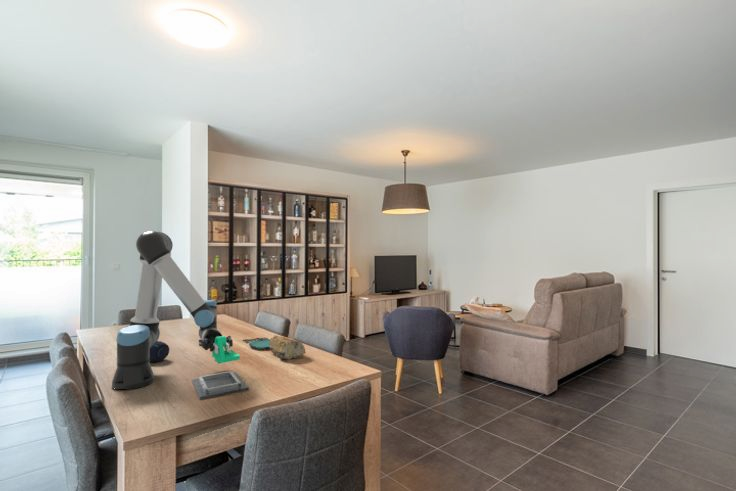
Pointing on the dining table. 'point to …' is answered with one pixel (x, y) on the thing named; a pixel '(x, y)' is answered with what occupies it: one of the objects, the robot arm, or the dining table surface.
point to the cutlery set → (259, 343)
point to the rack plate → (218, 384)
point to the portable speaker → (159, 351)
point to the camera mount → (223, 355)
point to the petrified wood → (286, 347)
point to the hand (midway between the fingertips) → (222, 349)
